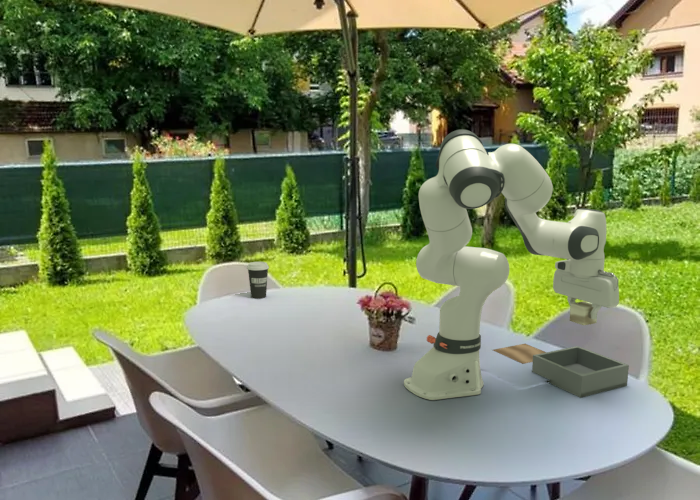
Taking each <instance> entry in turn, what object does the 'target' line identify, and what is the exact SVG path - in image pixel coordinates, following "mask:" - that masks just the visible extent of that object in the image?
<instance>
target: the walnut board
mask: <svg viewBox="0 0 700 500" xmlns="http://www.w3.org/2000/svg"><path fill="white" fill-rule="evenodd" d="M492 351H494V352H496V353H497V354H499V355H502V356H504V357H507V358H508V359H510V360H514V361H515V362H517V363H519V364H522V365H524V364H525V365H526V364H529V363H533V355H536V354H541V353H546V352H547V351H544V350H542V349H539V348H537V347H535V346H532V345H529V344H527V343H520V344H516V345H515V344H514V345H510V346H505V347H500V348H495V349H492Z"/></svg>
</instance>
